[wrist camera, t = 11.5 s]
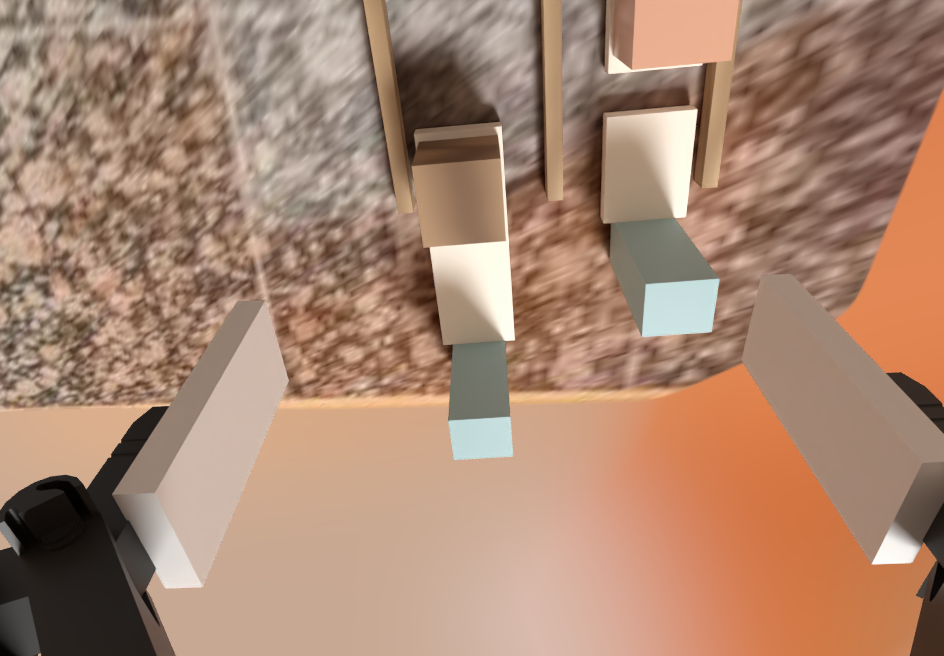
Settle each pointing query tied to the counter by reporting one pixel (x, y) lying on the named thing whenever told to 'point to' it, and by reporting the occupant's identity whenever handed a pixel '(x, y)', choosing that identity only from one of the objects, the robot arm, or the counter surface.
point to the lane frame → (552, 105)
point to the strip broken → (653, 212)
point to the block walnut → (459, 191)
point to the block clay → (673, 32)
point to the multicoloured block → (475, 325)
